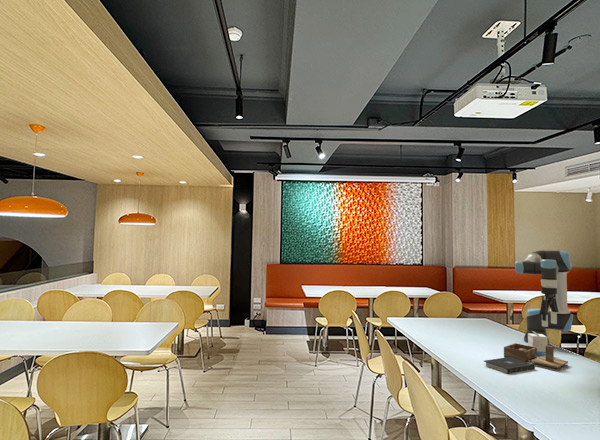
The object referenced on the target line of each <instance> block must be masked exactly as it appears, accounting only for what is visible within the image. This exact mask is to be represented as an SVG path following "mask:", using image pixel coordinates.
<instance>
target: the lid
mask: <svg viewBox="0 0 600 440" xmlns="http://www.w3.org/2000/svg"><path fill="white" fill-rule="evenodd" d="M554 349H555V348H554V345H553V346H552V345H547V346H546V356H539V357H537V358H535V359H533V360H531V361H530V362H531V363H537V364H538V365H542V366H547V367H551V368H559V367H561V366H563V365H565V364H567V365H568V363H569V361H568V360H564V359H560V358H555V356H554V355H555V353H554V352H555V350H554Z"/></svg>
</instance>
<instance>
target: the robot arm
mask: <svg viewBox="0 0 600 440" xmlns="http://www.w3.org/2000/svg"><path fill="white" fill-rule="evenodd" d="M572 267H573V263H572V259H571V254H570V252H568V251H566V250H545V249H544V250H543V249H542V250H536V251H532V252H530V253H528V254H527V255H526V256H525V259H524V260H519V261H518V260H517V261H515V263H514V271H515V273H516V274H521V275H523V274H524V275H539V276H540V277H541V278H540V280H539V282H540V285H541V288H540V293H541V294H542V295H543V296H541V304H540V308H537V307H536V308H528V309H527V311H526V315H525V316H526V330H525V333H524V336H523V341H524V343H527V344H528V333H531V334H535V333H534V332H536V333H537V334H543V335H545V336H546V337H547V341H548V346H550V339H549V336H548V333H547V329H548V330H554V331H561V332H570V331H571V330H572V327H573V326H572V325H573V319H574V314H573V313H571V311H570V309H569V308H568V289H567V288H568V284H567V281H568V280H567V276H568V275H567V274H568V273H570V270H572ZM533 331H534V332H533Z"/></svg>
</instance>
